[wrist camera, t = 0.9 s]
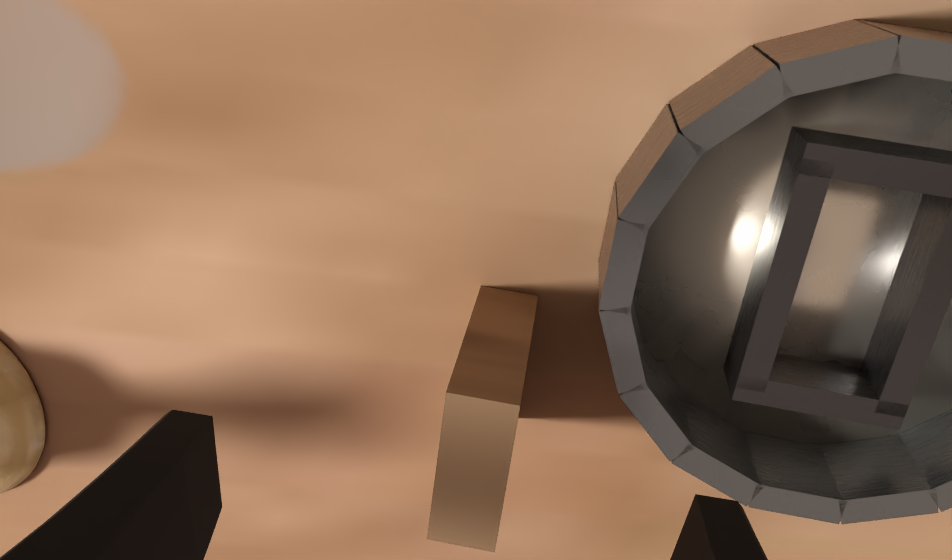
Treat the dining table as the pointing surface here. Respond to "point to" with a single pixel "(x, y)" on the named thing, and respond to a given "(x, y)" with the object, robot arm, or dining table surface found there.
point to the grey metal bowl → (795, 275)
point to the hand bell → (18, 422)
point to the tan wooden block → (481, 420)
